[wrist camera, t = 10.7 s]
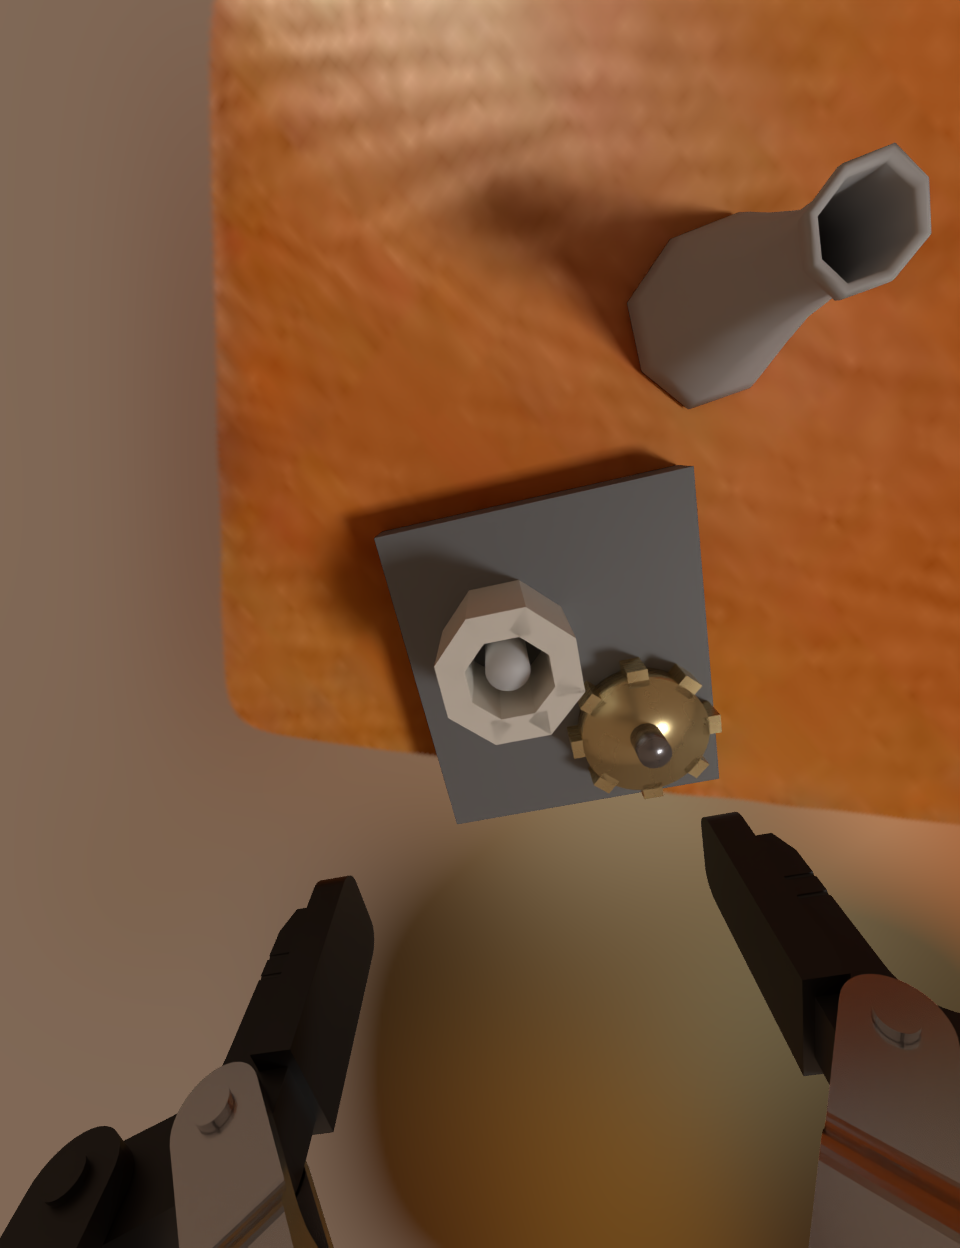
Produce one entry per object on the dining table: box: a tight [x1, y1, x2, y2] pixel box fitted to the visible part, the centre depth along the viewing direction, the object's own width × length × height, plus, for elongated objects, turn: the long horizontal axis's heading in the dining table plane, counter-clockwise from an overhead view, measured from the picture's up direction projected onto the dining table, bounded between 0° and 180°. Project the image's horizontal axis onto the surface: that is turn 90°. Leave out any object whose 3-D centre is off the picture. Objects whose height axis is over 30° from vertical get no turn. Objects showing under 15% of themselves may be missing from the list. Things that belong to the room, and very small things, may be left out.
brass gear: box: [567, 657, 722, 799], centre depth 26 cm, size 8×8×3 cm
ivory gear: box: [434, 580, 585, 745], centre depth 23 cm, size 6×6×4 cm
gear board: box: [374, 465, 719, 824], centre depth 25 cm, size 17×15×6 cm
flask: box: [627, 143, 931, 409], centre depth 18 cm, size 7×7×10 cm
